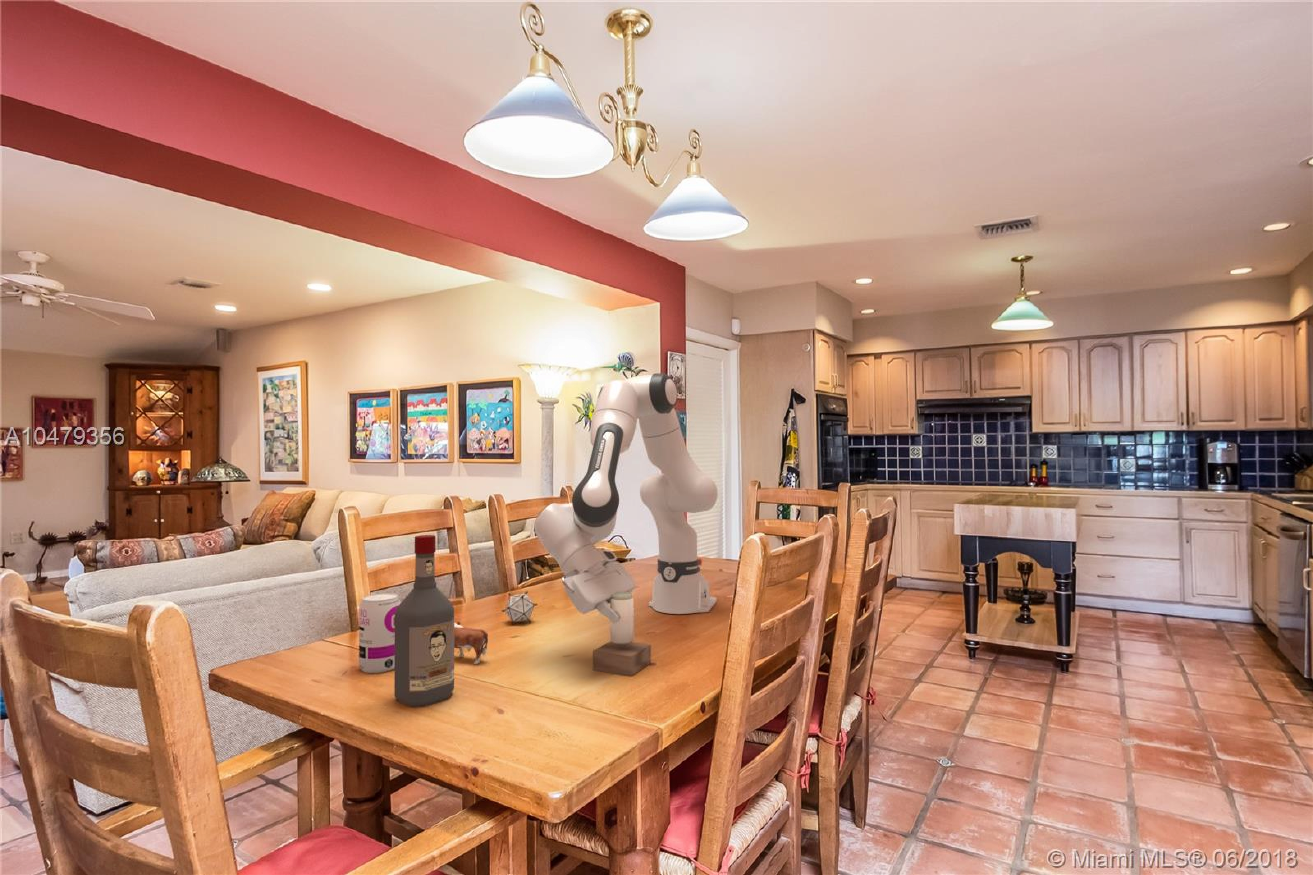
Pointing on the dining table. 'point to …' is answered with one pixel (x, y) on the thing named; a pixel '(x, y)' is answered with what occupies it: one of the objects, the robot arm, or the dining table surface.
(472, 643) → the bull figurine
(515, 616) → the game die
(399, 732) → the dining table surface
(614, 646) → the plinth
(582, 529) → the robot arm
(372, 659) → the supplement can
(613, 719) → the dining table surface
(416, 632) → the liquor
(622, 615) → the jar
